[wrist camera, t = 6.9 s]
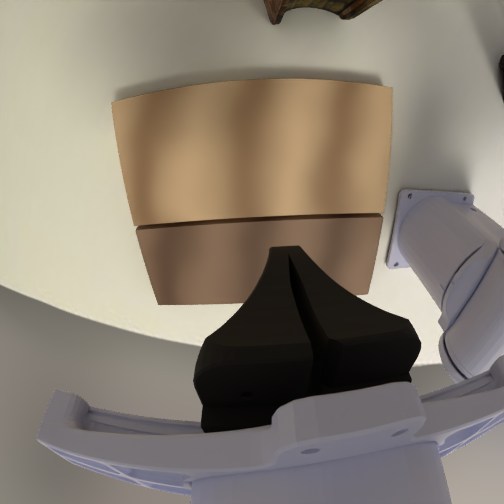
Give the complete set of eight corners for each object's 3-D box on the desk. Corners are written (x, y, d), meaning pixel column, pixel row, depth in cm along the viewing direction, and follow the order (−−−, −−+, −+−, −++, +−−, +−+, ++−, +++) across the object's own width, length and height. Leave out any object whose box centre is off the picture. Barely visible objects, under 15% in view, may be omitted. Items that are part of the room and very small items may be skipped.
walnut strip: (375, 209, 22) (383, 217, 21) (362, 283, 26) (367, 294, 25) (141, 221, 23) (135, 230, 21) (162, 294, 27) (158, 304, 25)
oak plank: (383, 87, 17) (392, 87, 15) (376, 205, 22) (383, 212, 20) (119, 101, 17) (111, 102, 16) (140, 218, 22) (134, 225, 21)
